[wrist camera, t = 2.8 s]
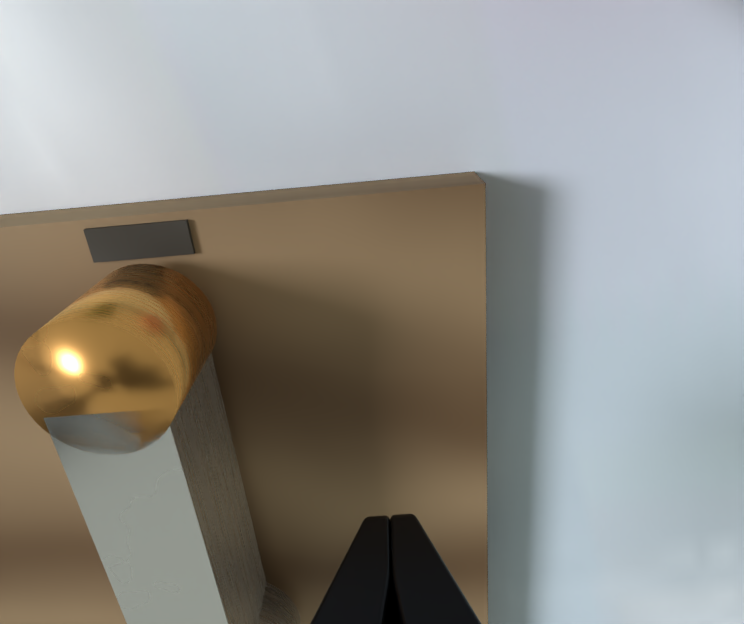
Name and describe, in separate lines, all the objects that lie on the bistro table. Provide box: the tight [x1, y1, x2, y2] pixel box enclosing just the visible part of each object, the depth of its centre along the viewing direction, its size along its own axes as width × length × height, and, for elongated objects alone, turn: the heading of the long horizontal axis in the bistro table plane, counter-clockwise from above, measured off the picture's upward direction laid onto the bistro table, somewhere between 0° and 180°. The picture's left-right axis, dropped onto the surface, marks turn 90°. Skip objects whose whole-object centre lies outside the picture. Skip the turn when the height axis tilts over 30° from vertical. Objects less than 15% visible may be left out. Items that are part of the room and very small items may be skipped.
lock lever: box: [14, 264, 301, 624], centre depth 14 cm, size 14×4×3 cm, turn 5°
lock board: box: [0, 172, 488, 624], centre depth 18 cm, size 22×22×2 cm
